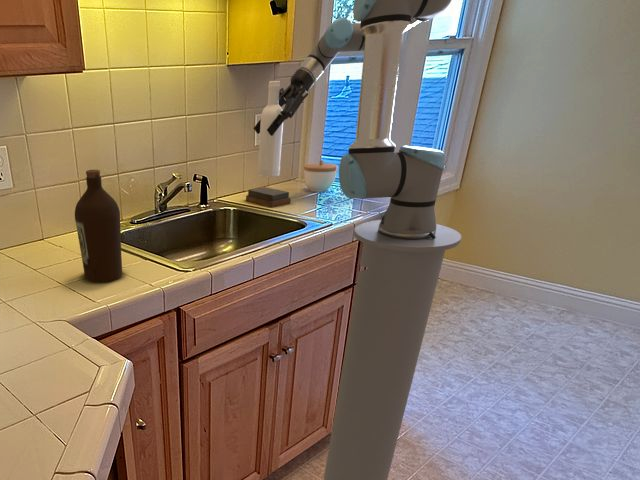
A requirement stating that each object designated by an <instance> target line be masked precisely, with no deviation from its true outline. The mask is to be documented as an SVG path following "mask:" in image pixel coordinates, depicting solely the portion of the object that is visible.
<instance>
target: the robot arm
mask: <svg viewBox="0 0 640 480" xmlns="http://www.w3.org/2000/svg"><path fill="white" fill-rule="evenodd" d="M451 3H452V0H354V1H353V7H352V14H353V17H352V18H353V20H354V21H356V22H355V23H354V22H353V23H352V22H351V20H349V19H347V18H345V17H339V18H337V19H335V20H334V21H332V23H331V24H330V25H328V27H327V28H326V30H325V32H324V34H323V35H322V36H321V37H320V39H319V41H318V42H317V43H316V45H315V46H314V47H313V48H312V50H311V51H310V53H309V54H308V56H306V57H305V59H304V60H303V61H302V62H301V64H300V66H298V69H297V70H295V71H294V73H293V74H292V75H291V77H290V85H288V86H287V87H286V88H285V89H284V88H283V87H280V89H279V103H278V104H279V106H280V107H281V108H282V107H283V106H284V107H283V108H282V110H283V111H281V112H280V113H281V114H282V115H281V114H279V115H278V116H277V117H276V119H275V120H274V121H273V122H272V124H271V125H270V126H269V128H268V129H267V131H268V132H269V134H270V135H271V136H273V134H274V133H275V132H276V130H277V129H278V128H279V127H280V125H281V124H282V123H283V124H284V122H285V121H286V120H288V119H292V118H293V116H295V114H296V112H297V111H298V110H299V108H300V106H301V105H302V103H303V102H304V100H305V99H306V98H307V97H308V96H309V91H310V90H311V89H312V88H313V86H314V84H315V83H317V81H318V80H319V79H320V77H321V76H322V74H323V73H324V72H325V70H326V69H327V68H328V67H329V66H330V64H331V63H333V61H334V59H336V57H337V56H338V55H339V53H341V52H342V53H344V52H346V53H347V52H363V58H362V59H363V61H362V70H361V79H360V91H359V101H358V110H357V120H356V131H355V140H354V141H353V142H352V143H351V145H349V146H348V152H347V153H346V154H345V155H342V157H341V159H340V160H339V161H340V163H339V166H338V180H339V187H340V189H341V191H342V193H343V195H344V196H345V197H346V198H348V199H352V200H353V199H356V200H357V199H358V200H359V199H360V200H365V199H381V198H390V200H389V205H388V206H387V208H386V210H385V213H384V214H383V215H382V217H381V219H379V220H380V221H381V222H380V224H379V228H378V232H379V233H380V234H382V235H385V236H388V237H391V238H397V239H405V240H422V239H428V238H432V239H434V238H436V237H435V233H436V224H437V219H436V211H435V205H436V201H437V197H438V193H439V189H440V185H441V180H442V175H443V171H444V170H445V161H446V153H444V152H443V151H442V150H440V149H435V148H430V147H423V146H415V145H401V146H400V148H399V149H398V152H395V149H396V144H395V143H394V142H393V141H392V140H391V133H392V132H391V131H392V123H393V114H394V109H395V108H394V107H395V99H396V91H397V81H398V76H399V75H398V74H399V66H400V59H401V50H402V42H403V34H404V33H405V32H407V31H408V30H410V29H411V28H412V27H415V26H416V25H418V24H419V23H421V22H422V23H423V22H424V23H425V22H428V21H431V20H433V19H434V18H436V17H438V16H440V15H441V14H442V13H443V12H444V11H445V10H446V9H447V8H448V7H449V6H450V4H451ZM260 124H261V118H260V119H259V120H258V122H256V124H255V125H254V126H253V130H254V131H255V133H256V134H257V135H260Z"/></svg>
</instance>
